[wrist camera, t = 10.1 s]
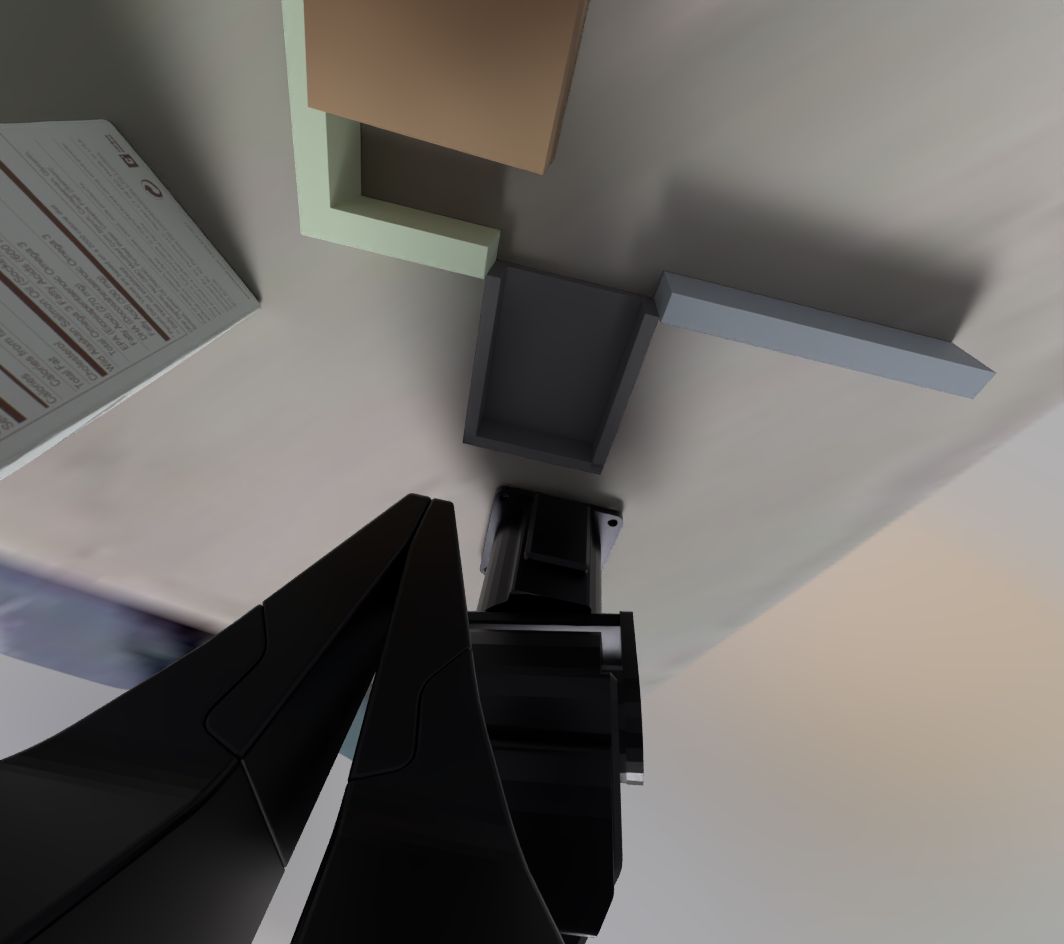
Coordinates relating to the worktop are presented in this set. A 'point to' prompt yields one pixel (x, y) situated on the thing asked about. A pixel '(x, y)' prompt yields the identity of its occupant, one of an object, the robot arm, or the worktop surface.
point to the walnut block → (449, 70)
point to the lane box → (571, 308)
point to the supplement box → (94, 282)
